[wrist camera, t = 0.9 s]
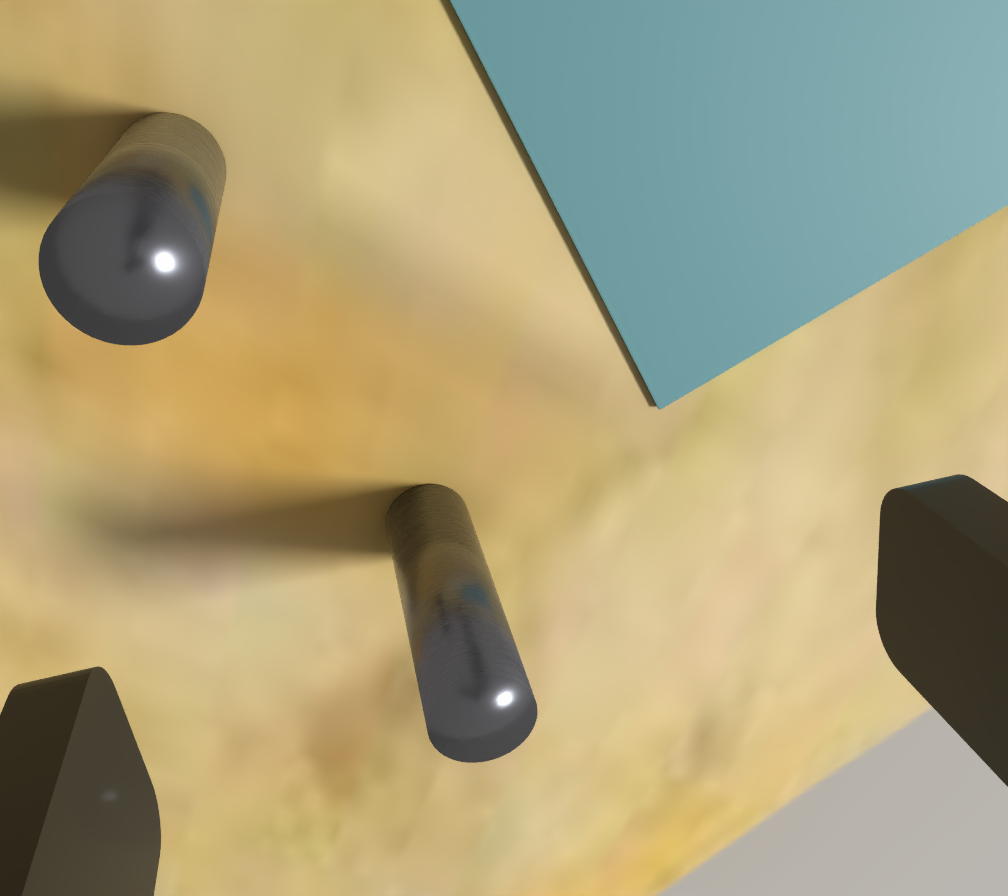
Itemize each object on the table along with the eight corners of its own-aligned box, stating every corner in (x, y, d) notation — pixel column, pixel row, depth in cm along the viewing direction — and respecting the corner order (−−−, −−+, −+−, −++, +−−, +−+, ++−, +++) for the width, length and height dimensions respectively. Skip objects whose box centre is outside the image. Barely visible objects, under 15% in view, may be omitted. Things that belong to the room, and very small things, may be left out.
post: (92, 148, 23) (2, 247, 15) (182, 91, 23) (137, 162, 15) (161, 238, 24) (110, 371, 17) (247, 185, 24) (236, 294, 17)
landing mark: (432, -33, 23) (434, -33, 23) (946, -355, 22) (952, -357, 22) (657, 407, 30) (659, 410, 30) (1054, 172, 29) (1059, 174, 29)
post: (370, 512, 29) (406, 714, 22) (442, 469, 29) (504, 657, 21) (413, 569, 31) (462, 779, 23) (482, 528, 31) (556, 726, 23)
